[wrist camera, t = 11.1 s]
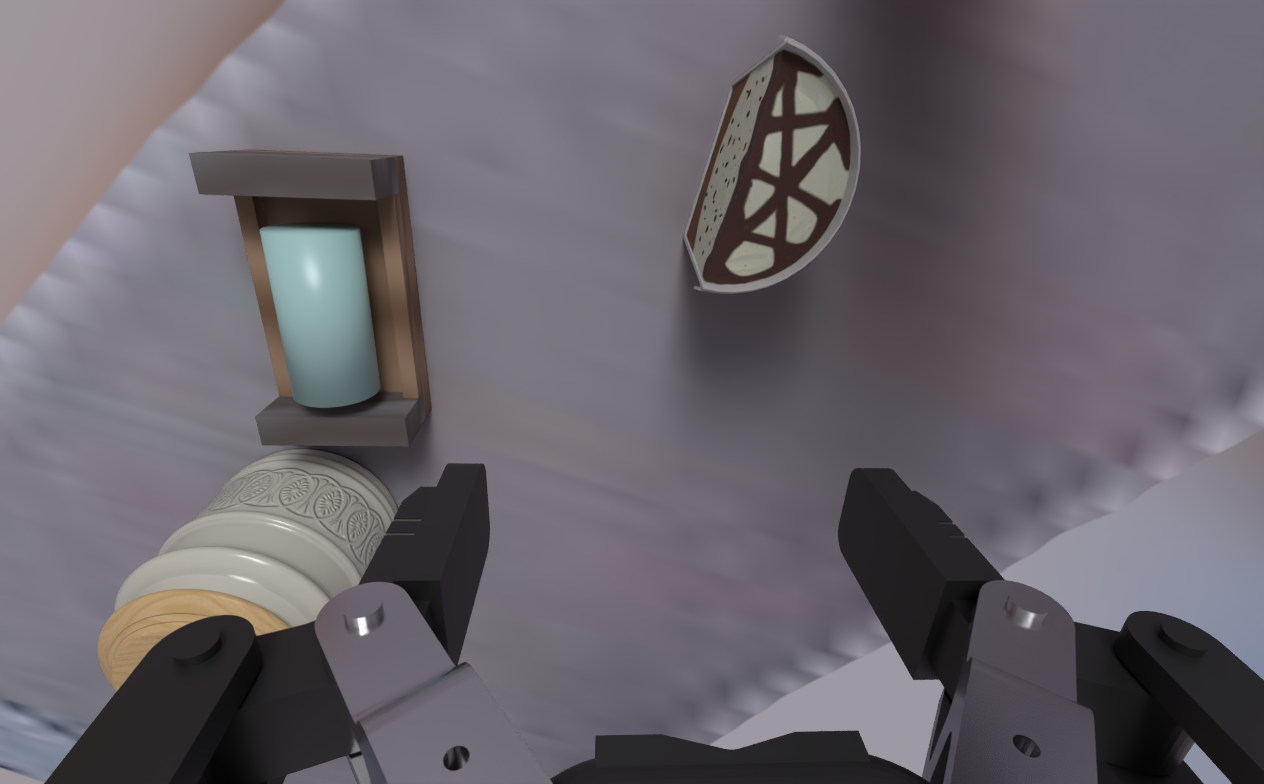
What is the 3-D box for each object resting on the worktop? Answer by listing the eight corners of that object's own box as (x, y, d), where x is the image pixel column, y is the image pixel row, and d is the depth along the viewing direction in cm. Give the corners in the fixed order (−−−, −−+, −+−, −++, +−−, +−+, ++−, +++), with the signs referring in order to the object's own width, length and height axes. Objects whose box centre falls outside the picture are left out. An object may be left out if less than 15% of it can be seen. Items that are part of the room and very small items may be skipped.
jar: (202, 529, 45) (-16, 748, 29) (279, 411, 42) (78, 588, 26) (354, 605, 49) (235, 835, 33) (437, 503, 46) (348, 707, 29)
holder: (248, 149, 35) (188, 152, 30) (402, 155, 35) (370, 160, 30) (302, 407, 42) (262, 445, 37) (431, 408, 42) (408, 446, 37)
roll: (243, 226, 32) (286, 239, 30) (331, 219, 36) (377, 231, 33) (277, 390, 36) (318, 415, 34) (354, 369, 40) (396, 390, 37)
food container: (761, 283, 40) (809, 329, 31) (675, 259, 39) (699, 298, 30) (836, 87, 35) (919, 72, 26) (740, 54, 34) (792, 26, 25)
